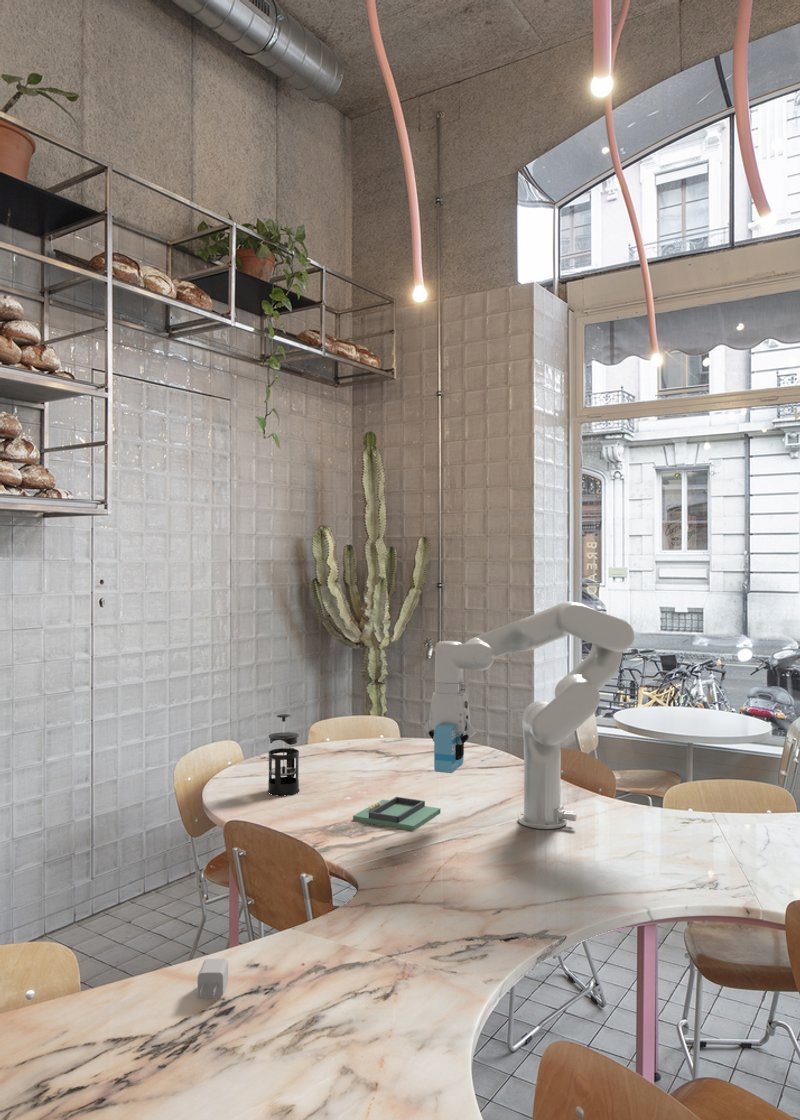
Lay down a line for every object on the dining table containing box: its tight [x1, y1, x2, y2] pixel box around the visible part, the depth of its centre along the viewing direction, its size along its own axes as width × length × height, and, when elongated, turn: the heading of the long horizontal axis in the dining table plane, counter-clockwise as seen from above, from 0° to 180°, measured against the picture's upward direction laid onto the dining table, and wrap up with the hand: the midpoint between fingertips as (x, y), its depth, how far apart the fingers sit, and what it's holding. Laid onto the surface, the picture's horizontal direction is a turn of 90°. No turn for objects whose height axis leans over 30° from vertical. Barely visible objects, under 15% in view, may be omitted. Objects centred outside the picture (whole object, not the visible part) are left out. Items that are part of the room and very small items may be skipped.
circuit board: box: [352, 796, 441, 832], centre depth 214 cm, size 18×16×3 cm
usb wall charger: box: [196, 958, 229, 999], centre depth 125 cm, size 4×7×4 cm, turn 2°
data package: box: [433, 724, 464, 774], centre depth 209 cm, size 12×4×12 cm, turn 160°
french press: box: [267, 713, 300, 797], centre depth 238 cm, size 12×9×23 cm
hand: (449, 757), depth 209 cm, fingers closed on data package, 4 cm apart
